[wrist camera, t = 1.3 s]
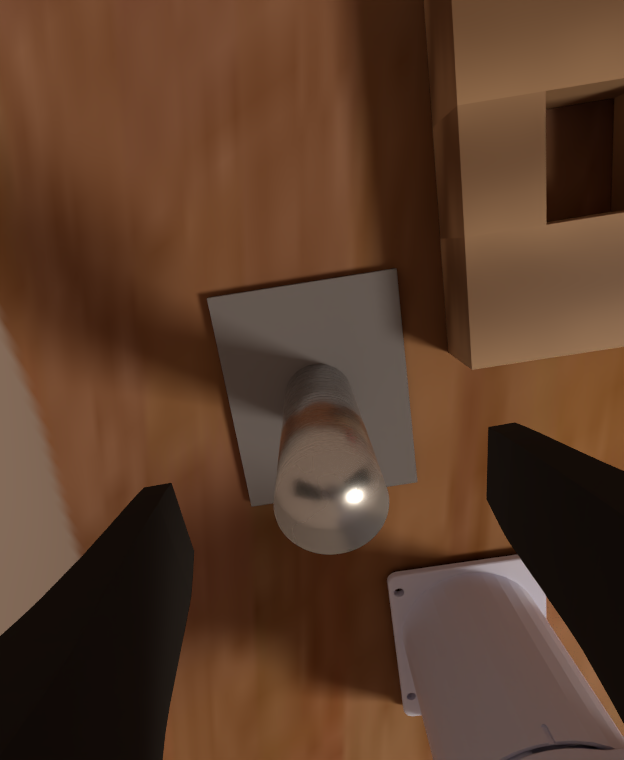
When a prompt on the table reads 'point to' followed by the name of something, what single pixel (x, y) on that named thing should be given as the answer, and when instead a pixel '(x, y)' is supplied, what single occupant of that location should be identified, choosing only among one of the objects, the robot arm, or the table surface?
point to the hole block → (522, 177)
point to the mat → (315, 346)
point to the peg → (327, 466)
